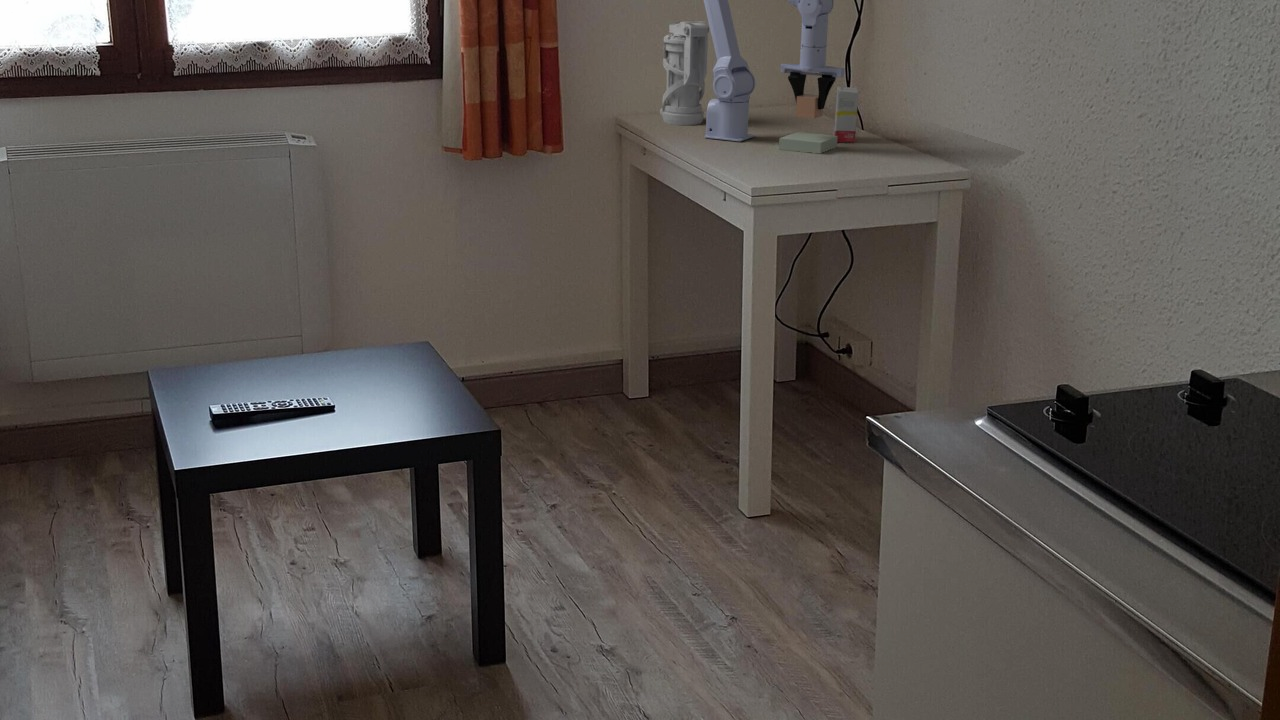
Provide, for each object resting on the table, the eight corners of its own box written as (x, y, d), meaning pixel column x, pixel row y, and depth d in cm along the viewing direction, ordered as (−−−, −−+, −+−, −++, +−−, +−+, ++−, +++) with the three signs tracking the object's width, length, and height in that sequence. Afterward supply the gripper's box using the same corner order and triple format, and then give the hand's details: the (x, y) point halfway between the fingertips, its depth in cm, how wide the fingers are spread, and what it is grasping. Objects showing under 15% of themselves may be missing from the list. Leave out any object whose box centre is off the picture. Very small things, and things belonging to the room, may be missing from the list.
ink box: (855, 143, 315) (859, 92, 311) (834, 142, 315) (837, 91, 311) (854, 137, 323) (857, 86, 319) (833, 136, 323) (836, 86, 320)
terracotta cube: (795, 116, 305) (796, 96, 303) (804, 113, 308) (805, 93, 307) (814, 118, 303) (815, 98, 301) (822, 116, 306) (823, 95, 305)
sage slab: (778, 149, 306) (779, 138, 305) (796, 142, 315) (796, 131, 314) (820, 153, 302) (820, 142, 301) (836, 147, 310) (837, 136, 309)
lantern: (655, 119, 342) (656, 18, 334) (692, 117, 346) (694, 17, 338) (677, 128, 331) (679, 23, 323) (715, 125, 335) (718, 21, 327)
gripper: (776, 45, 301) (773, 107, 305) (837, 50, 294) (833, 113, 298) (788, 42, 306) (785, 103, 311) (849, 47, 300) (845, 108, 304)
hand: (810, 107), depth 305 cm, fingers closed on terracotta cube, 5 cm apart
